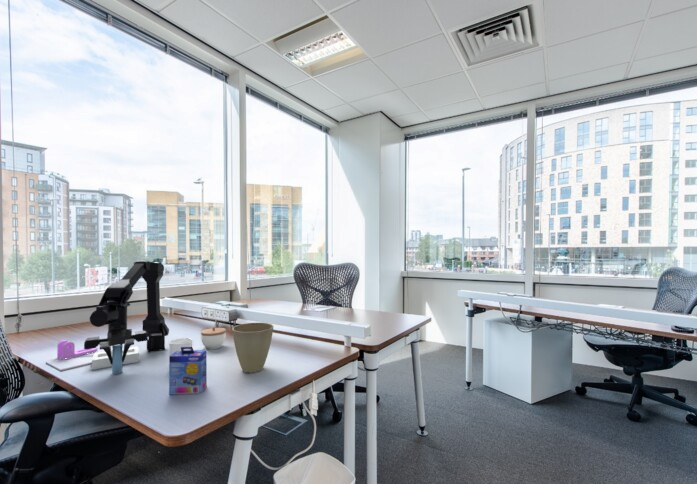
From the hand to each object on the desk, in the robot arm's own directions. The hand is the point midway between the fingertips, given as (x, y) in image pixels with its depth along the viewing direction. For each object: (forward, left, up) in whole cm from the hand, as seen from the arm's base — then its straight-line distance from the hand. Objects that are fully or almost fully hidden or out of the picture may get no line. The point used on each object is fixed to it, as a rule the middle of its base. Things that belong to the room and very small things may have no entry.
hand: (117, 362), depth 118 cm
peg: (0, 0, -4) cm, 4 cm away
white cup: (-20, +7, -4) cm, 22 cm away
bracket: (+14, -36, -4) cm, 39 cm away
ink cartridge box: (-19, +32, -4) cm, 37 cm away
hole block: (+1, -15, -4) cm, 15 cm away
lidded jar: (-36, -12, -4) cm, 38 cm away
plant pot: (-42, +26, -4) cm, 50 cm away
